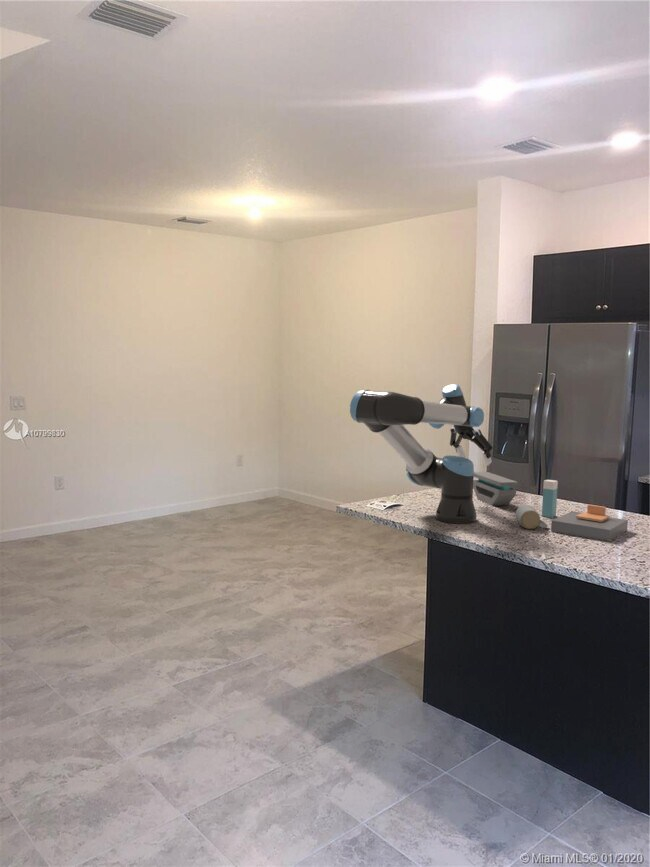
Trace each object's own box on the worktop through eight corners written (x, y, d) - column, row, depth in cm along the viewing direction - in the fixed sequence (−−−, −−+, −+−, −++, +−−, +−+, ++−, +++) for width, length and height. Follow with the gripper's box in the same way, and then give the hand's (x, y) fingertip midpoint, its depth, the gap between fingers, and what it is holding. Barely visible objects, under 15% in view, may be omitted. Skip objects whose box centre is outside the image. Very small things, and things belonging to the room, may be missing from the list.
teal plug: (551, 517, 268) (553, 482, 267) (541, 516, 271) (543, 480, 269) (555, 516, 271) (557, 480, 270) (545, 514, 274) (547, 479, 272)
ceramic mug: (520, 529, 249) (521, 508, 248) (514, 524, 257) (516, 503, 256) (550, 531, 248) (551, 509, 247) (543, 525, 256) (545, 505, 256)
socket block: (609, 541, 234) (609, 529, 234) (551, 531, 247) (551, 520, 247) (627, 530, 250) (627, 519, 249) (571, 521, 262) (572, 511, 262)
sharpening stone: (470, 496, 306) (471, 472, 305) (486, 496, 309) (487, 471, 307) (499, 509, 283) (500, 482, 281) (516, 508, 285) (518, 482, 283)
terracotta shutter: (601, 522, 244) (602, 511, 243) (575, 517, 250) (576, 507, 249) (609, 517, 251) (610, 507, 250) (584, 513, 256) (585, 503, 256)
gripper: (492, 417, 274) (505, 460, 284) (443, 411, 293) (457, 451, 303) (481, 428, 271) (495, 471, 280) (432, 421, 289) (447, 461, 299)
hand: (476, 461), depth 291 cm, fingers open, 13 cm apart
